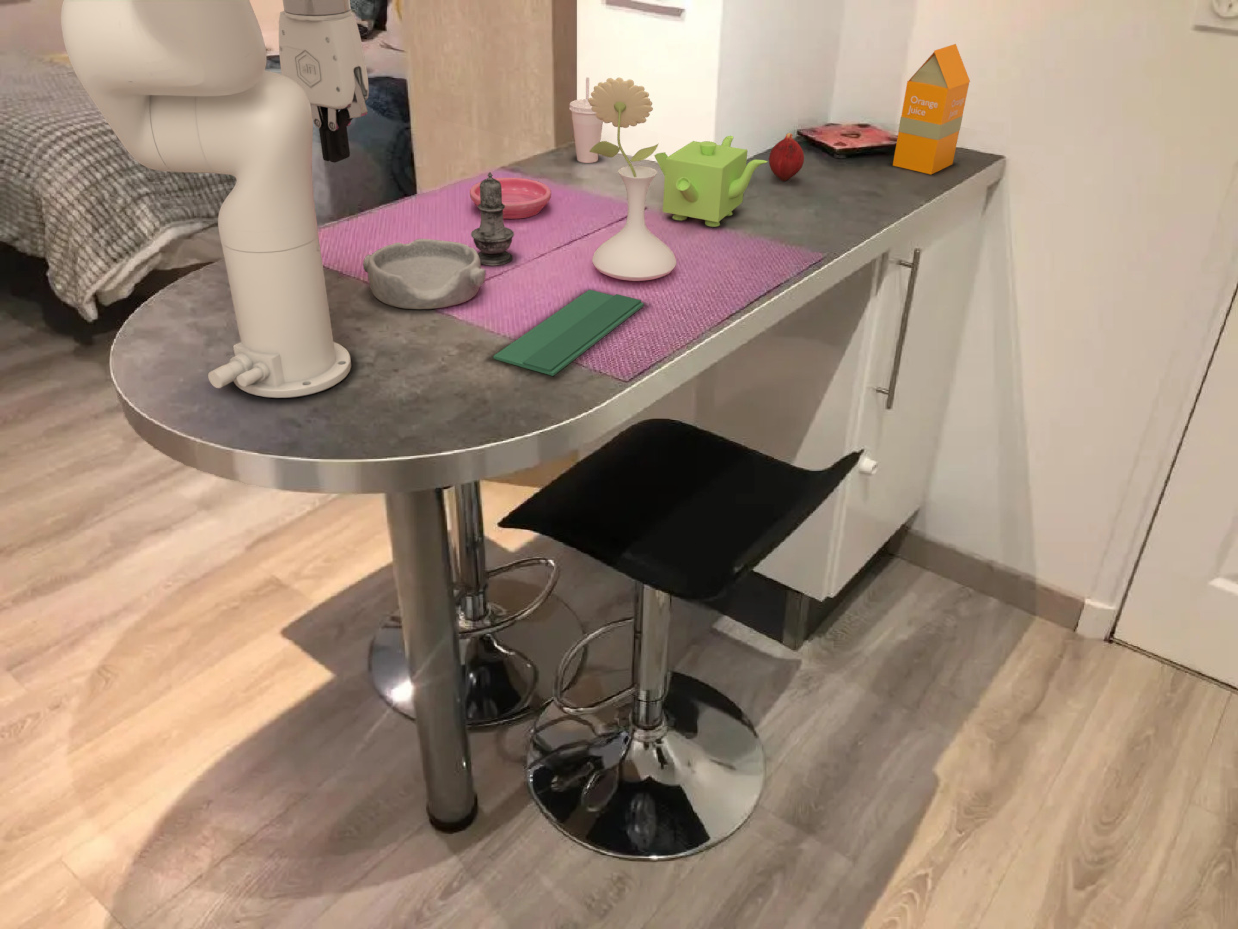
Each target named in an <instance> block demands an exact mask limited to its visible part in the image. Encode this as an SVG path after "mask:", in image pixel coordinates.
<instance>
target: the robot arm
mask: <svg viewBox="0 0 1238 929" xmlns="http://www.w3.org/2000/svg"><path fill="white" fill-rule="evenodd" d="M282 6H283V10H282V11H280V12H279V17H278V18H279V19H278V53H279V65H280V73H279V72H274V71H270V70H266V67H267V61H268V60H267V47H266V44H265V40H264V35H263V32H262V29H261V27H260V23H259V21H258V18H257V16H256V13H255V11H254V8H253V5H252V3H251V1H250V0H63V1H62V5H61V10H60V28H61V34H62V41H63V45H64V48H65V52H66V55H67V57H68V61H69V63H70V65H71V67H72V69H73V72H74V73H75V75H76V77H77V79H78V81H79V82H80V84H81V85H82V87H83V89H84V90H85V92H86V93H87V94H88V96H89V97H90V99H91V100H92V102H93V103H94V105H95V106H96V108H97V109H98V111H99V113H100V114H101V115H102V117H103V118H104V119H105V121H106V122H107V124H108V125H109V127H110V128H111V130H112V131H113V133H114V134H115V136H116V137H117V138H118V140H119V142H120V143H121V144H122V146H123V147H124V149H125V150H126V151H127V152H128V154H129V155H130V156H131V157H132V158H133V159H134V160H135V161H136V162H137V163H138V164H140V165H142V166H143V167H145V168H147V169H150V170H154V171H158V172H159V171H160V172H168V173H169V172H170V173H191V174H194V173H195V174H197V173H198V174H218V175H229V176H232V177H234V178H235V185H234V187H233V188H232V189H231V191H230V192H229V194H228V195H226V198H224V201H222V204H221V205H220V209H219V212H218V217H217V227H218V234H219V239H220V244H221V249H222V254H223V258H224V264H225V270H226V275H227V280H228V285H229V289H230V295H231V300H232V304H233V310H234V316H235V322H236V325H237V329H238V330H237V331H238V336H239V340H240V341H239V342H237V343H235V344H233V345H232V348H233V353H234V356H232V357H231V358H230V359H229V362H228V363H226V364H223V365H221V366H219V367H216V368H215V369H213V370H210V371H209V372H208V374H207V377H208V381H209V383H210V385H212V386H213V388H216V389H222V388H224V387H225V386H227V385H229V384H231V383H232V382H233V383H234V385H235V386H236V387H237V388H238V389H240V390H242V391H244V392H246V393H248V394H250V395H254V396H257V397H263V398H269V399H271V398H273V399H288V398H297V397H298V398H299V397H304V396H310V395H314V394H317V393H320V392H323V391H326V390H328V389H331V388H333V387H334V386H335V385H337V384H339V383H340V382H341V381H343V380H344V379H345V378H346V377H347V376H348V374H349V373H350V372H351V368H352V361H351V355H350V351H348V349H347V348H345V346H342V345H341V344H340V343H338V342H335V341H334V335H333V328H332V322H331V321H332V320H331V316H330V315H331V314H330V308H329V307H330V306H329V300H328V295H327V294H328V293H327V287H326V279H325V273H324V264H323V258H322V251H321V243H320V236H319V227H318V221H317V214H316V205H315V196H314V182H313V135H314V126H315V127H316V129H318V131H319V140H320V146H321V153H322V160H323V161H325V162H331V163H334V164H336V163H338V162H340V161H343V160H346V159H348V158H350V156H351V152H350V143H349V136H348V135H349V134H348V127H349V126H350V125H351V124H352V121H353V119H358V118H361V117H365V116H367V115H368V112H369V111H368V108H367V105H366V101H367V100H368V99H369V95H370V94H369V92H370V91H369V90H370V89H369V88H370V87H369V78H368V76H369V75H368V70H367V69H368V68H367V63H366V57H365V52H364V46H363V42H362V38H361V34H360V30H359V26H358V23H357V19H356V17H355V15H354V14H352V7H351V0H282Z"/></svg>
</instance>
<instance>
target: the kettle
mask: <svg viewBox="0 0 1238 929" xmlns="http://www.w3.org/2000/svg"><path fill="white" fill-rule="evenodd" d="M733 140H734V136H733V135H727V136H725V137H724V138H723V140H722V142H721V144H717V143H716V142H714V141H710V140H705V141H697V140H696V141H695V140H692V141H691V142H689V143H687V144H686V145H684V146H682V147H681V148H679V149H678V150H676V151H675V152H673V153H672V154H669V155H668V154H667V153H666V152H664V151H663V152H658V153H656V154H654V158H655V161H656V162H657V164H658V166H659V168H660V171H661V172H662V174H663V176H664V182H663V199H662V212H663V213H665V214H673V215H672V217H671V218H672V219H673V220H675V221H685V220H687V219H688V217H689V218H693V219H699V220H704V224H705V226H707V227H720V226H721V224H720V222H721V220H723V219H724V218H726V217H730V216H732V215H733V211H734V210H735V209H736V208H737V207H739V206H740V205H741V204H742V203H743V201H744V193H745V191H746V190H747V189H748V186H749V184H750V182H751V179H752V176H753V174H754V172H755V171H756V169H757V168H758V167H759V166H762V165H764V164H767V163H769V160H764V159H752V160H750V161H749V162H748V149H746V148H740V147H733V146H732V143H733ZM747 162H748V163H747Z"/></svg>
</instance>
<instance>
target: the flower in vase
mask: <svg viewBox="0 0 1238 929" xmlns="http://www.w3.org/2000/svg"><path fill="white" fill-rule="evenodd" d="M645 89H646V88H645V87H644V86H643V85H639V86H638V85H636V84H635V82H634V80H633V79H630V78H629V79H627V80H624V79H623V78H622V77H617V78H615V79H614V78H613V77H608V78H607V79H606V81H604V82H603V81H599V82H598V83H597V85H594V87H593V91H592V92H590V96H591V97H589V99H588V102H589V104H590V105H591V106H592V108H591V109H592V111H593V112H596V117H597V118H599V119H600V120H603V124H610V123H611V125H612V126H613V127H615V128H617V132H616V133H617V134H616V135H617V136H616V137H617V138H616V139H617V145H616V144H614V143H612V142H610V141H607V140H602V141H601V140H600V142H599V143H597V144H596V145H594V146H593V147H592V149H591V150H590V151H589V152H592V153H597V154H599V155H600V156H602V157H603V156H604V157H607V158H614V157H615V156H617V154H618V153H619V152H620V153H621V154H622V156H623V158H624V159H625V161H626V162H627V165H626V166H623V167H620V168H618V170H617V173H618V174H619V176H620V177H621V180H622V181H623V184H624V187H625V191H626V200H627V214H626V222H625V224H624V226H623V227H622V228H621V229H620V230H619V231H618V232H617V233H615V234H614V235H613V236H611V237H609V238H608V239H607V240H605V241H603V243H601V244H600V246H599V247H597V249H596V250H595V251H594V253H593V255H592V258H591V261H592V264H593V265H594V267H595V269H596V270H597V271H598V272H600V273H601V274H603V275H605V276H607V277H610V278H614V279H617V280H622V281H629V282H640V281H641V282H642V281H643V282H644V281H651V280H655V279H659V278H662V277H665V276H667V275H669V274H670V273H671V272H672V271H673V270H674V269H675V268H676V266H677V259H676V256H675V254H674V251H672V250H671V248H670V247H669V246H668V245H667V244H666V243H664V242H663V241H662V240H661V239H659V238H658V237H657V236H656V235H655V234H653V233H652V232H651V231H650V230H649V228H648V227H647V225H646V219H645V211H646V210H645V208H646V200H647V194H648V190H649V188H650V185H651V183H652V181H653V179H654V178H655V177H656V176H657V175H658V171H657V170H656V169H655V168H653V167H650V166H645V165H633V164H632V163H633V162H640V161H643V160H646V159H647V158H649V157H650V156H652V155H653V154H654V153H655V152H656V150H657V148H658V146H659V143H657V144H655V145H652V146H648V147H644V148H641V149H639V150H638V151H637V152H636V153H634V155H633V156H632V157H631V158H630V159H629V157H628V156H627V155H626V153H625V151H624V149H623V147H622V144H621V128H623V129H627V128H629V126H630V127H636V126H637V125H639V124H645V123H646V122H647V121H648V120H647V118H648V117H650V115H651V114H650V113H651V112H652V111H653V110H654V107H653V106H652V105H653V102H652V101H651V99H650V98H649V96H650V94H649V92H648V91H645ZM631 162H632V163H631Z"/></svg>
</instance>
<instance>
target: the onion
mask: <svg viewBox="0 0 1238 929" xmlns="http://www.w3.org/2000/svg"><path fill="white" fill-rule="evenodd" d="M793 136H794V135H793V134H792V133H791V132H788V133H786V134H785V136H784V138H783V139H782V140H779V141H778V142H777V143H775V145H774V146H773V147H772V148H771V151H770V153H769V156H768V164H769V168H770V170H771V172H772V173H773V174H774V176H775V177H776V178H778V179H779V180H780V181H781V182H786V181H788V180H790V179H792V178H793V177H795V175H797V174H798V173H799V172H800V170H801V169H802V168H803V165H804V163H805V154H804V151H803V149H802V147H801V145H800V144H799V143H798V142H797V141H796V140H795V139H794V138H793Z"/></svg>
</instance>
